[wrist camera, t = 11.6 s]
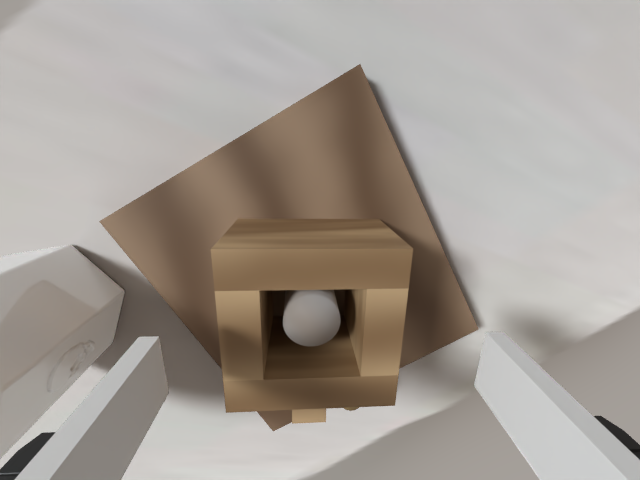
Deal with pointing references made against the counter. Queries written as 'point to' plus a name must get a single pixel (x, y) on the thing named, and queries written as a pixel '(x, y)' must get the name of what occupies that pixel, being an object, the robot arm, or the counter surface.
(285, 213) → the jig
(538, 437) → the robot arm
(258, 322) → the wooden square frame
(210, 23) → the counter surface
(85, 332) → the jar
